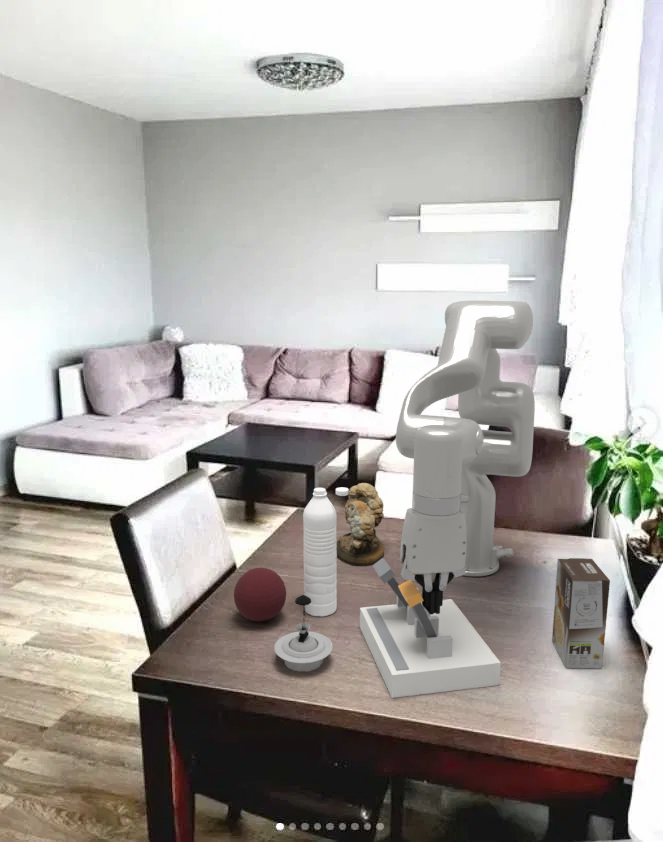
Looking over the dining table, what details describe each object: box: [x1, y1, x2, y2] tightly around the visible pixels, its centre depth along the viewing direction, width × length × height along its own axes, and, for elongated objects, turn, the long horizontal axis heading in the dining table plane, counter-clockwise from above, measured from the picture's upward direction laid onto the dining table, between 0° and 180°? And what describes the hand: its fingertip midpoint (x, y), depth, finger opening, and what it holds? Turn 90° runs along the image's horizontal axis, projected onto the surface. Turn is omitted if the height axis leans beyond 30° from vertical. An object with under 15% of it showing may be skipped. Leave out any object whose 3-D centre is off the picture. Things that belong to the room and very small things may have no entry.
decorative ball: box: [233, 567, 287, 622], centre depth 129 cm, size 10×10×10 cm
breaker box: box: [359, 587, 502, 699], centre depth 117 cm, size 18×22×7 cm
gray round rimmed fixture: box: [274, 594, 334, 672], centre depth 114 cm, size 12×10×10 cm
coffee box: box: [551, 557, 611, 670], centre depth 116 cm, size 9×6×16 cm
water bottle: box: [302, 486, 350, 617], centre depth 131 cm, size 9×6×25 cm
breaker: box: [372, 557, 409, 608], centre depth 122 cm, size 2×5×11 cm
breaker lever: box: [398, 580, 437, 638], centre depth 111 cm, size 2×5×11 cm, turn 10°
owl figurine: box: [336, 482, 385, 567], centre depth 160 cm, size 18×12×17 cm, turn 5°
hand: (431, 610), depth 110 cm, fingers closed
